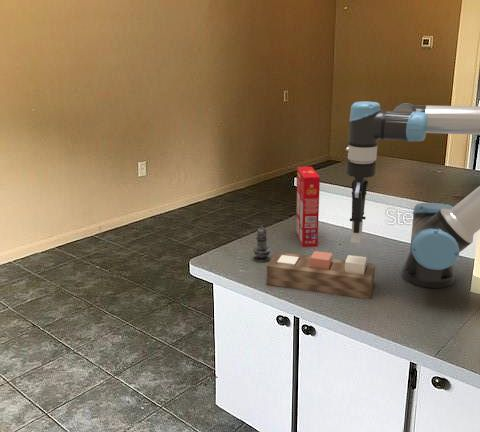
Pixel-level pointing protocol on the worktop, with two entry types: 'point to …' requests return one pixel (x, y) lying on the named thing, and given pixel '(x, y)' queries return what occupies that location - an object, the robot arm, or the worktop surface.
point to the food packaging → (307, 206)
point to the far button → (288, 260)
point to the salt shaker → (261, 246)
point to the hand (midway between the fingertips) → (356, 242)
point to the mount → (321, 277)
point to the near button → (355, 264)
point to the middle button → (321, 260)
